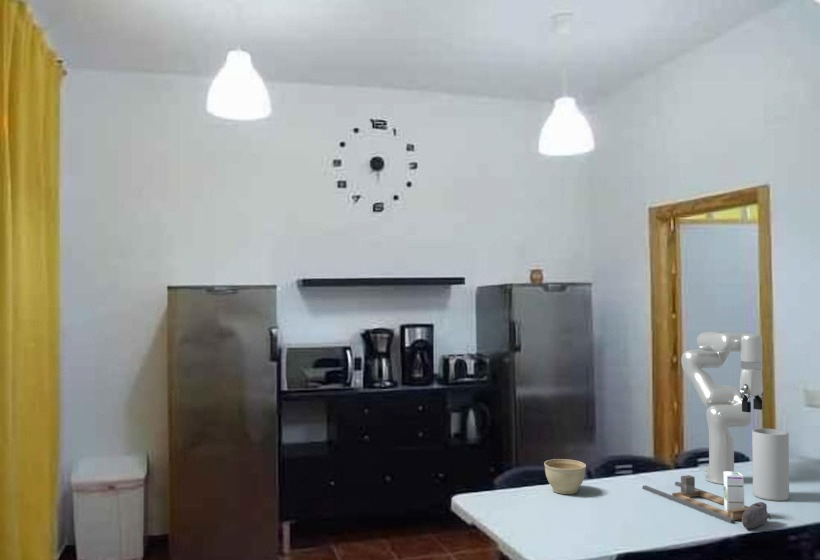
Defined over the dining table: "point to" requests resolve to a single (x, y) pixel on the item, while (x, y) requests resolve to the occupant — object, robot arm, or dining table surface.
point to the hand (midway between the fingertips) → (752, 410)
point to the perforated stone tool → (755, 515)
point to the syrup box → (733, 490)
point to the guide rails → (691, 503)
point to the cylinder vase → (770, 464)
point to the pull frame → (690, 491)
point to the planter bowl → (565, 475)
